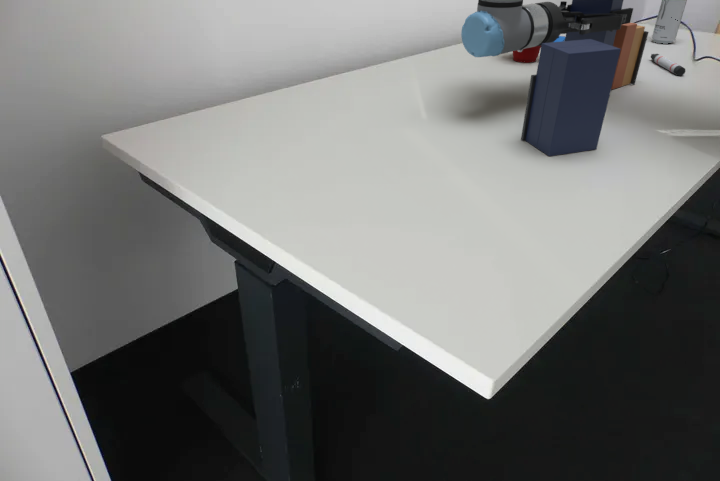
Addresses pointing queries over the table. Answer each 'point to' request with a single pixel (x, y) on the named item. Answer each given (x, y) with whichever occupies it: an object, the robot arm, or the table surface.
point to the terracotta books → (629, 53)
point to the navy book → (594, 3)
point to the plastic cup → (527, 54)
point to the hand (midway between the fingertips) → (608, 12)
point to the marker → (668, 64)
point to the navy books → (569, 96)
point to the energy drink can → (668, 21)
